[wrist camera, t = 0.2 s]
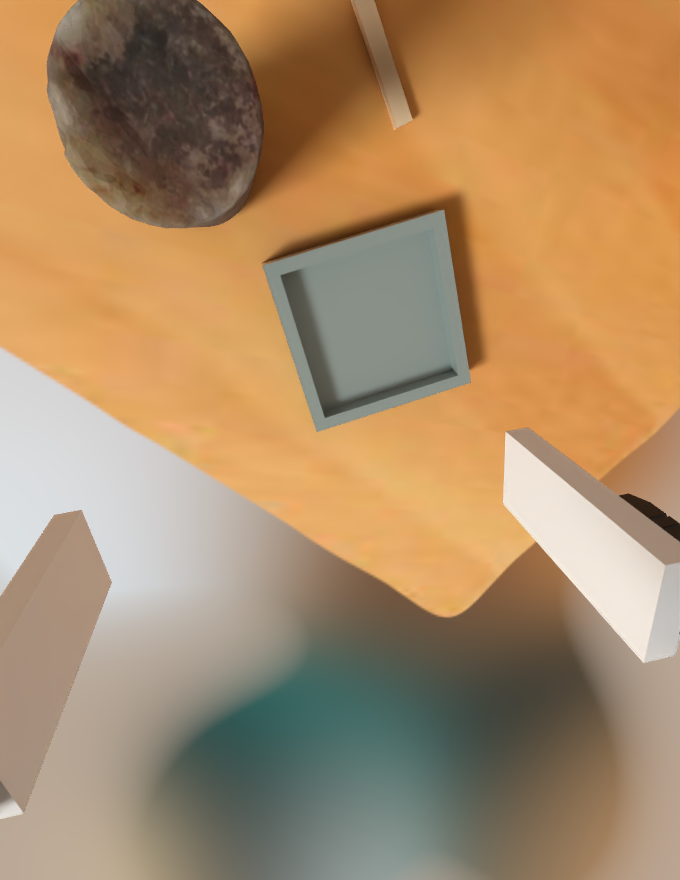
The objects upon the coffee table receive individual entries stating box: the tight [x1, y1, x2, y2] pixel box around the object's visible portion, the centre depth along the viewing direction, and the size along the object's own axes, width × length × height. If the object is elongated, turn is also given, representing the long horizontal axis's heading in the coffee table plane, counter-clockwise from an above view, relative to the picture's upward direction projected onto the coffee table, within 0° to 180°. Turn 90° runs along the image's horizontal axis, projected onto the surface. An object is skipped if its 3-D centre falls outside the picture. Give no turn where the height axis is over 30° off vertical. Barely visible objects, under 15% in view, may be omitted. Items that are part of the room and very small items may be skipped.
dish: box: [262, 210, 471, 432], centre depth 40 cm, size 14×14×2 cm
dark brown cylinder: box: [47, 0, 264, 228], centre depth 25 cm, size 8×7×20 cm
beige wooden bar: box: [350, 0, 413, 130], centre depth 33 cm, size 8×1×1 cm, turn 25°
